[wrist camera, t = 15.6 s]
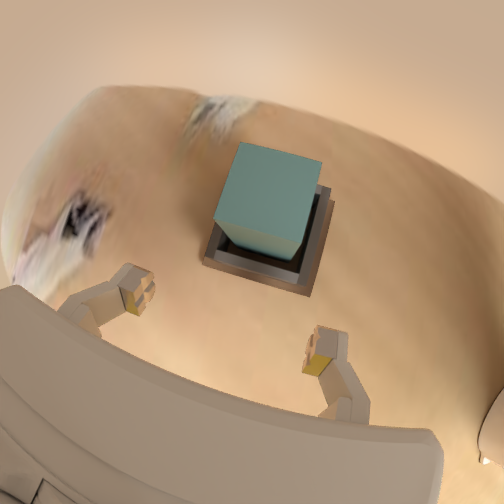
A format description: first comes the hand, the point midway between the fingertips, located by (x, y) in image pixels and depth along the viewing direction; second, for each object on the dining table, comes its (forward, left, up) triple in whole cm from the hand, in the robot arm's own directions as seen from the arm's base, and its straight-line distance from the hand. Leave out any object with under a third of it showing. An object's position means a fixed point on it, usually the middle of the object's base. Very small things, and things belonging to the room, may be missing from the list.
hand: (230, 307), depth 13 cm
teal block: (0, -7, -14) cm, 15 cm away
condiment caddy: (0, -7, -15) cm, 16 cm away
